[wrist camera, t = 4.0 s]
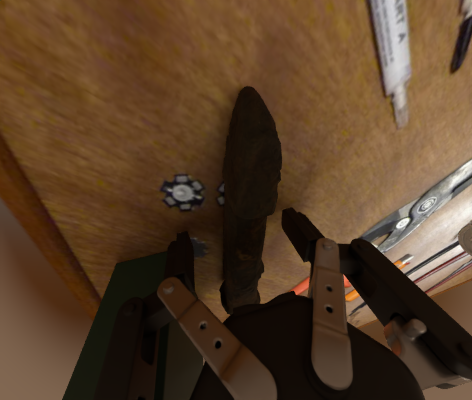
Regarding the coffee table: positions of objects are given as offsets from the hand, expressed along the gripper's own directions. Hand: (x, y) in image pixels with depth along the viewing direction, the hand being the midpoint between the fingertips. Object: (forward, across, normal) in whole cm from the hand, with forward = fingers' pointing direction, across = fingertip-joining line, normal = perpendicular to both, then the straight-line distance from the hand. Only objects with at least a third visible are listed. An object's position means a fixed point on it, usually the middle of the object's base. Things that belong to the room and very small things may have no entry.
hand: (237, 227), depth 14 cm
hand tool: (+1, 0, 0) cm, 1 cm away
